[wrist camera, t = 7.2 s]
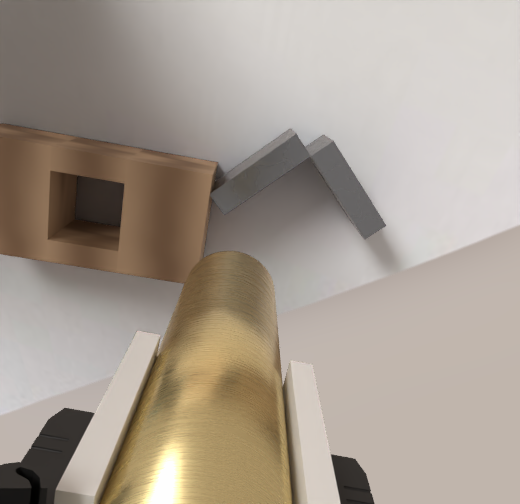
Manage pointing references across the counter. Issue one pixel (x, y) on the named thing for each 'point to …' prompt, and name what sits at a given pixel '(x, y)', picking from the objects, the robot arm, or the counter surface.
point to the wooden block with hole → (95, 234)
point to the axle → (211, 398)
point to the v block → (286, 158)
